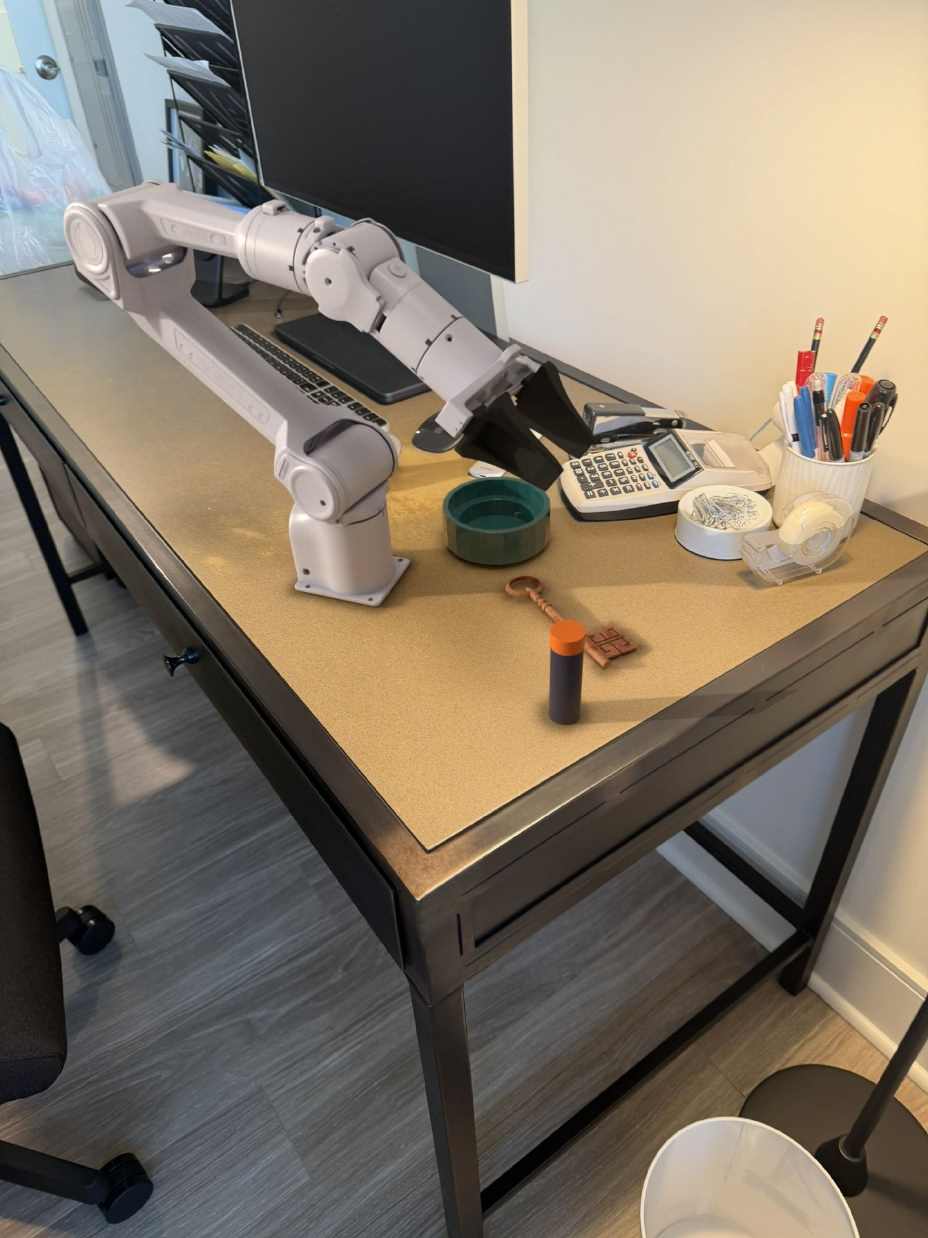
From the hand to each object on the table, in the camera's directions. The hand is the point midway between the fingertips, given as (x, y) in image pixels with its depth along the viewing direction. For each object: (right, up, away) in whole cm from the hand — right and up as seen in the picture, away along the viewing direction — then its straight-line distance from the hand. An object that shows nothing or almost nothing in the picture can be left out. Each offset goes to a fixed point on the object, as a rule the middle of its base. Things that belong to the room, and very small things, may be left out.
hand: (572, 464), depth 66 cm
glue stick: (0, -20, +6) cm, 21 cm away
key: (+1, -12, +15) cm, 19 cm away
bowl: (-5, -3, +26) cm, 27 cm away
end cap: (-76, +50, +98) cm, 134 cm away
